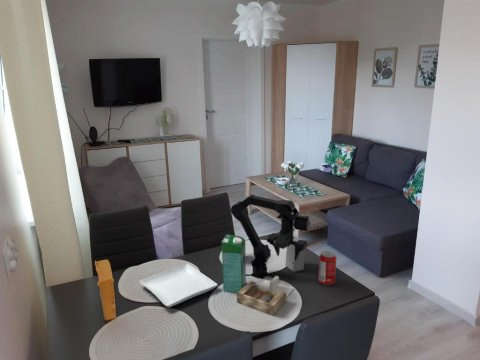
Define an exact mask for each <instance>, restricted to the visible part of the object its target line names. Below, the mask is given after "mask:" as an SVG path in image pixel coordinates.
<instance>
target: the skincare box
mask: <svg viewBox="0 0 480 360" xmlns="http://www.w3.org/2000/svg"><path fill="white" fill-rule="evenodd" d="M293 237H294V239H293V241H298V240H304V239H302V238H301V237H299V236H298V235H296V236H293ZM294 249H295V245H291V244H290V246H289V247H288V246H286V251H285V263H284V264H285V266H286V267H287V268H288V269H289V270H290V271H291V272H293V273H294V272H300V271H303V270H305V269H304V268H305V260H306V259H305V258H306V257H305V256H306V249H307V247H306V248H305V249H304V250H303V251H300V253H299V255H298V258H297V260H296V261H295V250H294Z"/></svg>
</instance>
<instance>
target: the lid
mask: <svg viewBox="0 0 480 360" xmlns="http://www.w3.org/2000/svg"><path fill="white" fill-rule="evenodd" d="M257 287H259V288H262V289H265V290H268V291H271V292H274V293H277V294H278V293H279V292H280V291H284V292H286V298H287V297H288V296H289V295H290V294H291V293H292V292H293V291H294V288H293V287H290V286H287V285H285V284H281V283H280V277H279V276H278V275H275V276H274V277H273V278H271V280H267V279H265V280H264V281H263V282H261V283H260V284H259V285H258V286H257Z"/></svg>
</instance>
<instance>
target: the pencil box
mask: <svg viewBox="0 0 480 360" xmlns="http://www.w3.org/2000/svg"><path fill="white" fill-rule="evenodd" d="M256 284H257V281H256V282H255V281H253V280H250V281H249V282H248V283H246V284H245V287H243V288H242V289H241V290H240V291H239V292H236V303H238V304H240V305H242V306H245V307H249V308H250V309H254V310H257V311H259V312H262V313H265V314H267V315H269V316H272V317H273V316H274V315H276V314H277V312H278V311H279V310H280V309H281V308H282V307H283V306H284V305H285V304H286V303H287V297H286V292H284V291H280V292H279V293H278V294H277V293H274V292H271V291H268V290H265V289H262V288H259V287H258V286H256Z"/></svg>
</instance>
